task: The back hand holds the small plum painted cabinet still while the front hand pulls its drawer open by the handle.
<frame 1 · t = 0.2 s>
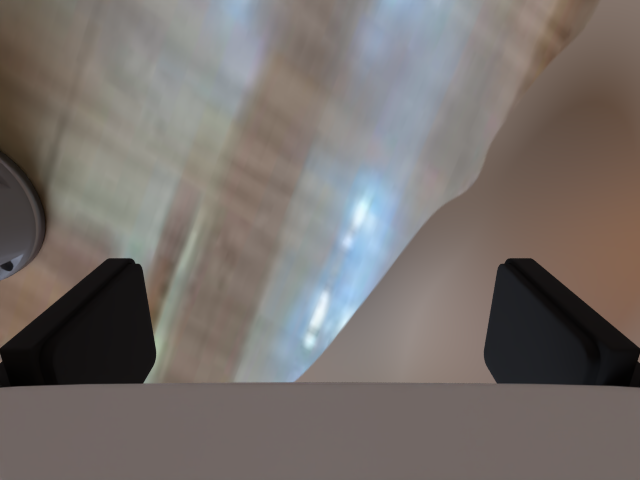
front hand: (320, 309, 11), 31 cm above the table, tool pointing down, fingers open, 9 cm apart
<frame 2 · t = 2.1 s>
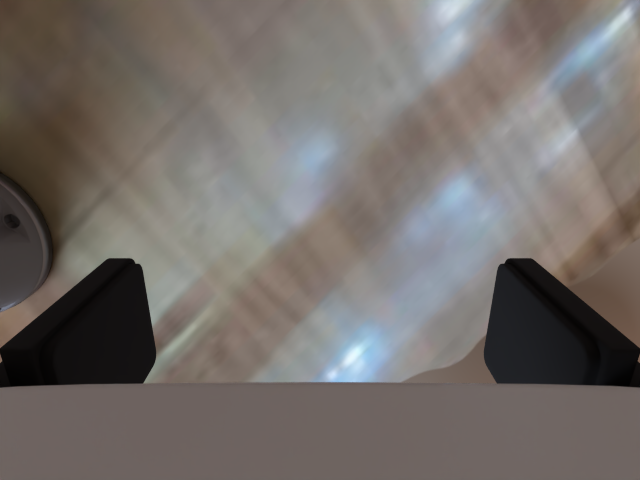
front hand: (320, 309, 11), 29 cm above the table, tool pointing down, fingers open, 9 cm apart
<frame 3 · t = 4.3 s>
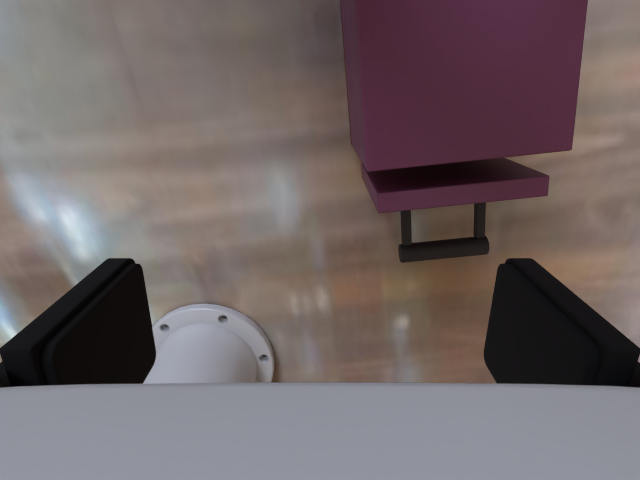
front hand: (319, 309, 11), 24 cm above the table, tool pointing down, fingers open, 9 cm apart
drawer: (439, 104, 27), point 6 cm above the table, slide at 1.5 cm
cabinet: (417, 16, 30), on the table, touching back hand
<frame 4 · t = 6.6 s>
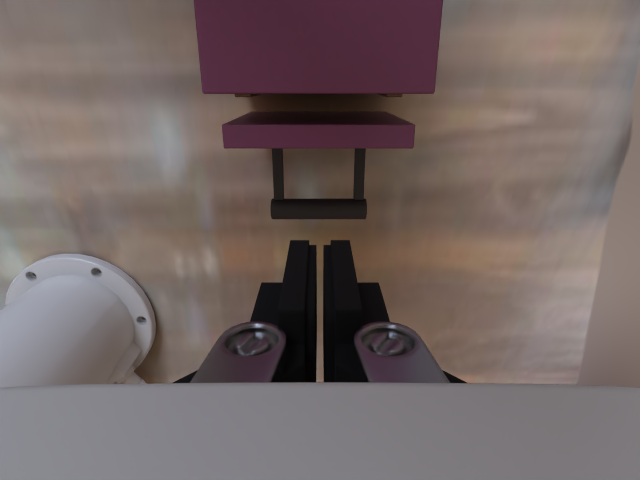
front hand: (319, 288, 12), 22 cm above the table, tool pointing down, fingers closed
drawer: (318, 42, 24), point 6 cm above the table, slide at 1.5 cm
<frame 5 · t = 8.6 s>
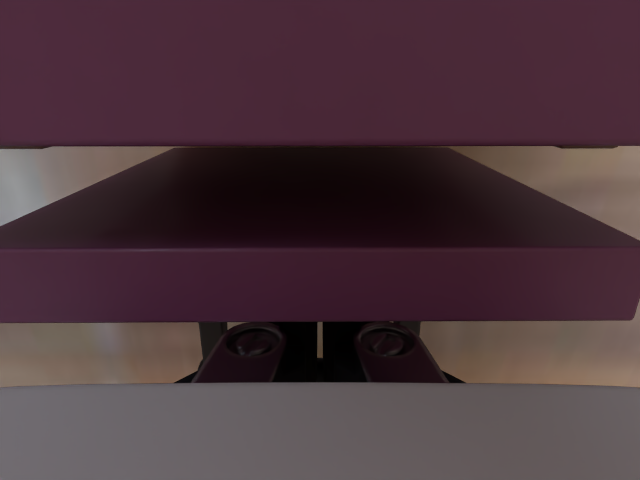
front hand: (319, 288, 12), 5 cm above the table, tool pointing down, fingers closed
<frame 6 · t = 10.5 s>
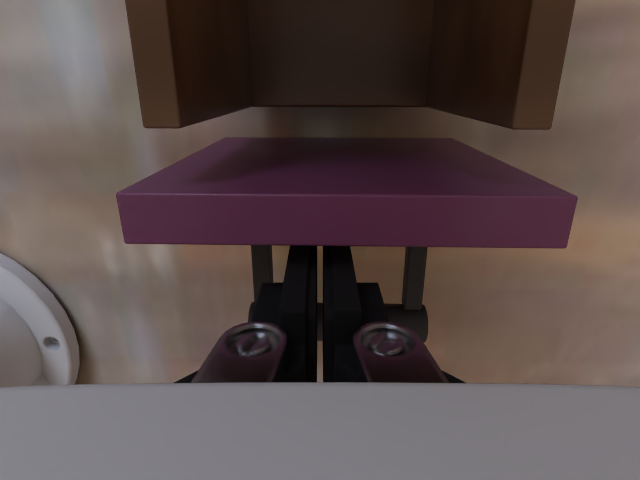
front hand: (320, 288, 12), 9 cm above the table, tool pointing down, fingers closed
drawer: (342, 9, 12), point 6 cm above the table, slide at 7.7 cm
when the back hand's fingers open (7 cm above the table, at t = 12.0 s): cabinet stays where it is, on the table.
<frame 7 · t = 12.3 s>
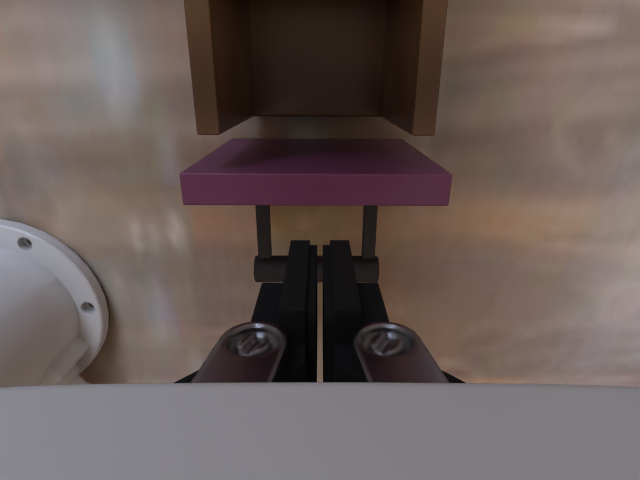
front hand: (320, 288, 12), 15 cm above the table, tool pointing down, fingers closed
drawer: (316, 54, 18), point 6 cm above the table, slide at 7.7 cm
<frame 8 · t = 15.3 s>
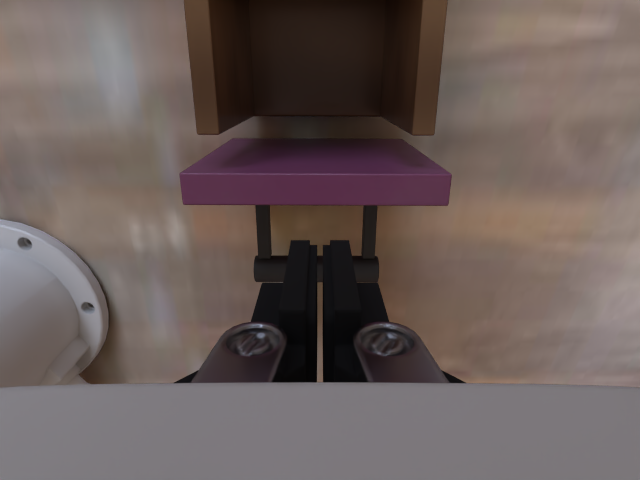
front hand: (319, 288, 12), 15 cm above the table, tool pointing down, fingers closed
drawer: (316, 54, 18), point 6 cm above the table, slide at 7.7 cm
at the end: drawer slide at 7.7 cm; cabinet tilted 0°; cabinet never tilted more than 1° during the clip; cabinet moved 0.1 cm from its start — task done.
